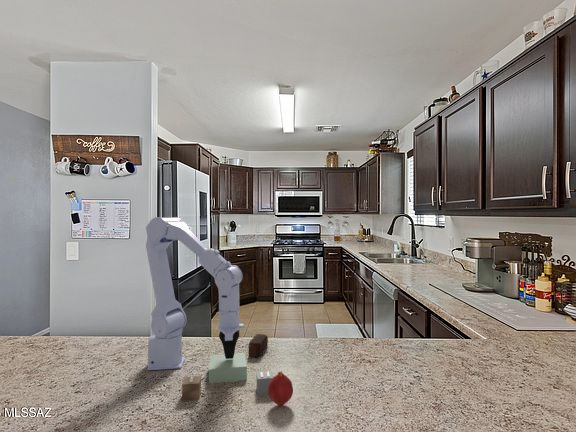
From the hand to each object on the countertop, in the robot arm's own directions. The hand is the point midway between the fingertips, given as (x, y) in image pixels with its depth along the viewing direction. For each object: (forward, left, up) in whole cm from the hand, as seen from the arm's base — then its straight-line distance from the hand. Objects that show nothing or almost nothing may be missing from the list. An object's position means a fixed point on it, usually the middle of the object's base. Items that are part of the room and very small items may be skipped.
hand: (229, 357), depth 101 cm
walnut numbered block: (-9, -12, -4) cm, 16 cm away
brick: (+9, +15, -5) cm, 18 cm away
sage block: (0, -1, -5) cm, 5 cm away
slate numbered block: (+9, -12, -4) cm, 16 cm away
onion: (+12, -20, -4) cm, 24 cm away
